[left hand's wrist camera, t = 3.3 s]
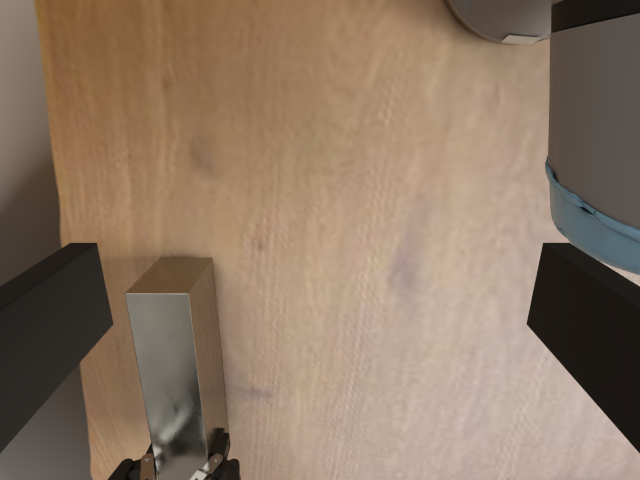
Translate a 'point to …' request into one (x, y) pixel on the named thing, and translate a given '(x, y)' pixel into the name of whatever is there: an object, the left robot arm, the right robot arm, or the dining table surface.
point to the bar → (179, 362)
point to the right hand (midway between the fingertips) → (195, 433)
